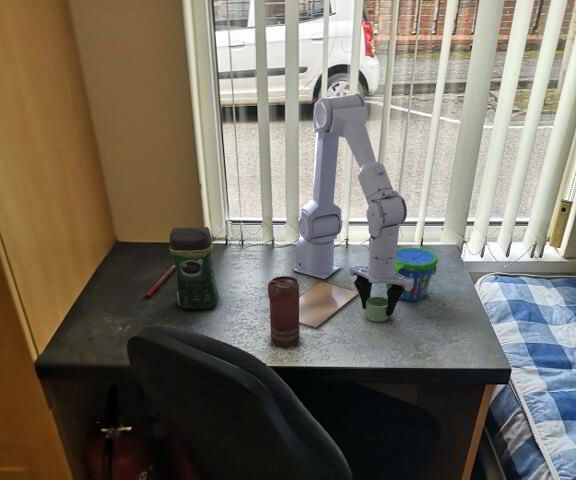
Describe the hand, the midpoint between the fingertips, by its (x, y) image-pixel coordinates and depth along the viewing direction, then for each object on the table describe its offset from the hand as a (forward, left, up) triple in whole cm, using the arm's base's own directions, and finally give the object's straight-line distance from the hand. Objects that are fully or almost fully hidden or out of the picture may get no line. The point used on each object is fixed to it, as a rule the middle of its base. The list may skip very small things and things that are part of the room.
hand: (377, 310), depth 129 cm
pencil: (-55, -13, -2) cm, 56 cm away
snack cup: (+2, +14, -2) cm, 14 cm away
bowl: (0, 0, -2) cm, 2 cm away
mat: (-14, -2, -2) cm, 15 cm away
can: (-12, -20, -2) cm, 23 cm away
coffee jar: (-39, -17, -2) cm, 43 cm away
